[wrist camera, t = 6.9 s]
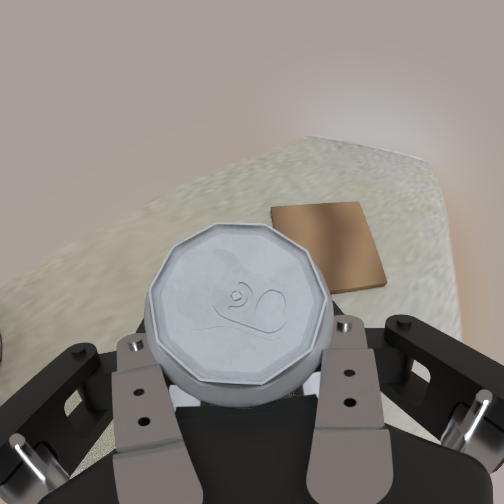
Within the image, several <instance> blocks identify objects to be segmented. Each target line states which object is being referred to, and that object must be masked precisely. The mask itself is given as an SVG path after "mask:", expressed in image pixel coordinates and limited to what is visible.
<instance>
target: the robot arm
mask: <svg viewBox="0 0 504 504" xmlns="http://www.w3.org/2000/svg"><path fill="white" fill-rule="evenodd" d="M332 303H333V311H334V324H333V330H332V336H331V341H330V344H329V346H328V349H323V355H322V362H321V364H320V365H319V367H318V368H317V369H316V370H315V371H314V373H315V372H321V377H320V387H319V396H318V398H317V395H316V394H311V395H305V396H299V397H293V398H286V399H281V400H278V401H274V402H271V403H268V404H265V405H261V406H258V407H255V408H251V409H234V408H224V407H216V406H183V407H176V411H175V409H174V406H173V403H172V400H171V396H170V393H169V388H170V385H175V384H174V383H173V382H172V381H171V380H170V379H169V378H168V377H167V376H166V375H165V374H164V373H163V371H162V369H161V366H160V364H157V362H156V360H155V359H154V357H153V355H152V352H151V350H150V348H149V346H148V342H147V337H146V331H145V325H144V318H143V320H142V323H141V324H140V326H139V328H138V329H137V331H136V333H135V334H131V335H128V336H126V337H124V338H122V339H121V340H120V341H119V342H118V344H117V351H113V352H108V353H103V354H98V352H97V349H96V347H95V345H93V344H91V343H79V344H75V345H73V346H71V347H69V348H67V349H66V350H65V351H64V352H63V353H61V354H60V355H59V356H58V357H57V358H55V359H54V360H53V361H52V362H51V363H49V364H48V365H47V366H46V367H45V368H44V369H42V370H41V371H40V372H39V373H38V374H37V375H35V376H34V377H33V378H32V379H31V380H30V381H29V382H27V383H26V384H25V385H24V386H23V387H22V388H21V389H19V390H18V391H17V392H16V393H15V394H14V395H13V396H12V397H10V398H9V399H8V400H7V401H6V402H5V403H4V404H3V405H2V406H1V407H0V498H1V499H2V500H3V501H5V502H6V503H7V504H493V486H492V481H491V477H490V474H491V473H493V472H495V471H497V470H498V469H499V468H500V467H501V466H502V464H503V463H504V366H503V365H501V364H499V363H498V362H496V361H494V360H492V359H490V358H489V357H487V356H485V355H483V354H481V353H479V352H478V351H476V350H474V349H472V348H470V347H469V346H467V345H465V344H463V343H461V342H460V341H458V340H456V339H454V338H452V337H450V336H449V335H447V334H445V333H443V332H441V331H439V330H437V329H436V328H434V327H432V326H430V325H428V324H426V323H424V322H423V321H421V320H419V319H417V318H415V317H413V316H409V315H393V316H391V317H389V318H387V320H386V322H385V328H364V323H363V321H362V320H361V319H359V318H357V317H355V316H351V315H345V314H344V313H343V312H342V311H341V310H340V308H339V307H338V306H337V305H336V303H335V302H334V301H333V300H332ZM0 358H1V338H0ZM414 360H416V361H417V362H419V363H420V364H422V365H423V366H425V367H426V368H427V369H428V370H429V372H430V377H431V378H430V382H429V383H428V382H427V381H425V380H424V379H422V378H421V377H420V376H418V375H417V374H415V373H414V372H413V371H411V370H412V366H413V363H414ZM76 390H77V391H78V393H79V395H80V397H81V399H82V401H81V402H80V404H79V405H78V406H77V407H76V408H75V409H74V410H73V411H72V412H71V414H70V415H69V416H68V417H67V415H66V414H65V411H64V405H65V402H66V400H67V399H68V398H69V397H70V396H71V395H72V394H73V393H74V392H75V391H76ZM380 391H381V392H382V393H383V394H384V395H386V396H387V397H388V398H389V399H390V400H392V401H393V402H394V403H395V404H396V405H397V406H399V407H400V408H401V409H402V410H403V411H405V412H406V413H407V414H408V415H409V416H410V417H412V418H413V419H414V420H415V421H416V422H418V423H419V424H420V425H421V426H422V427H424V428H425V429H426V430H427V431H428V432H430V433H431V434H432V435H433V436H434V437H436V438H437V439H438V440H439V441H441V445H439V444H437V443H434V442H431V441H428V440H426V439H423V438H421V437H418V436H415V435H413V434H410V433H408V432H405V431H403V430H401V429H398V428H396V427H393V426H391V425H389V424H386V423H384V418H383V409H382V401H381V394H380ZM112 420H114V432H115V443H116V449H114V450H113V451H111V452H110V453H109V454H107V455H106V456H104V457H103V458H102V459H100V460H99V461H97V462H96V463H94V464H93V465H91V466H90V467H88V468H87V469H86V470H84V471H83V472H81V473H80V474H78V475H76V476H75V477H73V478H72V479H70V480H69V478H70V476H71V475H72V474H73V472H74V471H75V469H76V468H77V467H78V465H79V464H80V463H81V461H82V460H83V459H84V457H85V456H86V455H87V453H88V452H89V450H90V449H91V448H92V446H93V445H94V444H95V442H96V441H97V440H98V438H99V437H100V436H101V434H102V433H103V432H104V430H105V429H106V428H107V426H108V425H109V424H110V422H111V421H112Z"/></svg>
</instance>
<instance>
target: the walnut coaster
mask: <svg viewBox="0 0 504 504" xmlns="http://www.w3.org/2000/svg"><path fill="white" fill-rule="evenodd" d="M271 217H272V222H273V228H274V229H275V230H277V231H278V232H280V233H282V234H283V235H285V236H286V237H288V238H289V239H291V240H292V241H294V242H296V243H297V244H299V245H300V246H302V247H303V248H305V249H306V250H308V252H309V254H310V256H311V259H312V260H313V261H314V263H315V264H316V265H317V267H318V268H319V270H320V271H321V273H322V275H323V277H324V280H325V282H326V284H327V287H328V289H329V292H330V294H336V293H343V292H350V291H356V290H363V289H369V288H375V287H381V286H385V285H386V284H387V280H386V276H385V273H384V270H383V267H382V264H381V261H380V258H379V255H378V252H377V249H376V246H375V244H374V241H373V238H372V235H371V232H370V230H369V227H368V224H367V222H366V219H365V216H364V214H363V211H362V209H361V206H360V204H359V202H339V203H322V204H306V205H292V206H279V207H271Z"/></svg>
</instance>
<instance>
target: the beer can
mask: <svg viewBox="0 0 504 504" xmlns="http://www.w3.org/2000/svg"><path fill="white" fill-rule="evenodd" d="M333 324H334V311H333V303H332V297H331V294H330V292H329V289H328V287H327V284H326V282H325V280H324V277H323V275H322V273H321V271H320V270H319V268H318V267H317V265H316V264H315V263H314V261H313V260H312V259H311V256H310V254H309V252H308V250H306V249H305V248H303V247H302V246H300V245H299V244H297V243H296V242H294V241H292V240H291V239H289V238H288V237H286V236H285V235H283V234H282V233H280V232H278V231H277V230H275V229H274V228H272V227H271V226H269V225H267V224H260V223H231V222H215V223H214V224H212V225H210V226H208V227H206V228H204V229H202V230H200V231H198V232H197V233H195V234H193V235H191V236H189V237H187V238H185V239H184V240H182V241H180V242H178V243H176V244H174V245H173V246H172V247H171V249H170V251H169V252H168V254H167V256H166V258H165V260H164V261H163V263H162V265H161V266H160V268H159V270H158V272H157V273H156V275H155V276H154V279H153V281H152V284H151V285H150V287H149V289H148V294H147V296H146V301H145V309H144V325H145V331H146V337H147V342H148V346H149V348H150V350H151V352H152V355H153V357H154V359H155V360H156V362H157V364H160V366H161V369H162V371H163V373H164V374H165V375H166V376H167V377H168V378H169V379H170V380H171V381H172V382H173V383H174V384H175V385H176V386H178V387H179V388H180V389H181V390H183V391H184V392H186V393H188V394H190V395H191V396H193V397H195V398H197V399H199V400H200V401H204V402H207V403H211V404H214V405H218V406H221V407H235V408H247V407H254V406H260V405H265V404H268V403H271V402H274V401H276V400H279V399H281V398H282V397H284V396H286V395H287V394H289V393H291V392H292V391H294V390H295V389H297V388H298V387H300V386H302V385H303V384H304V383H305V382H306V381H307V380H308V379H309V377H310V376H311V375H312V374H313V373H314V371H315V370H316V369H317V368H318V367H319V365H320V364H321V362H322V355H323V349H328V346H329V344H330V341H331V336H332V330H333Z"/></svg>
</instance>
